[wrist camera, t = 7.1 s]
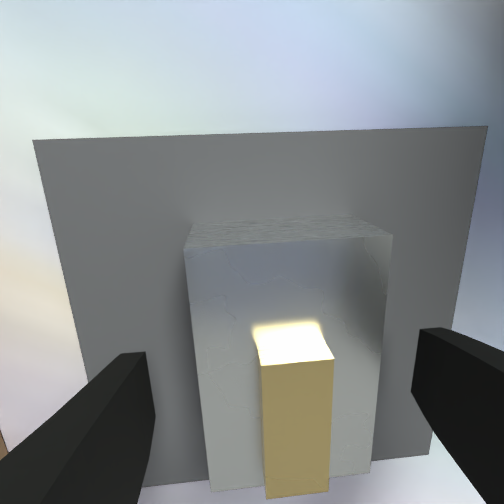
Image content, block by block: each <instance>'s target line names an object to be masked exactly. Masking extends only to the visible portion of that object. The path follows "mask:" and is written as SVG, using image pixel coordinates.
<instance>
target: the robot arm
mask: <svg viewBox="0 0 504 504" xmlns="http://www.w3.org/2000/svg"><path fill="white" fill-rule="evenodd" d="M411 393H412V395H413V397H414V399H415V401H416V403H417V404H418V406H419V408H420V410H421V412H422V413H423V415H424V417H425V418H426V420H427V422H428V424H429V425H430V427H431V429H432V430H433V431H434V433H435V434H436V436H437V437H438V439H439V440H440V441H441V443H442V444H443V445H444V447H445V448H446V450H447V451H448V452H449V454H450V455H451V456H452V458H453V459H454V460H455V462H456V463H457V465H458V466H459V467H460V469H461V470H462V471H463V473H464V474H465V475H466V477H467V478H468V479H469V481H470V482H471V483H472V485H473V486H474V487H475V489H476V490H477V491H478V493H479V494H480V496H481V497H482V498H483V500H484V501H485V502H486V504H504V352H503V351H501V350H499V349H496V348H494V347H492V346H489V345H487V344H485V343H482V342H480V341H477V340H475V339H472V338H470V337H468V336H465V335H462V334H460V333H457V332H454V331H452V330H449V329H446V328H442V327H437V328H425V329H420V330H419V337H418V344H417V351H416V358H415V364H414V371H413V378H412V385H411ZM155 419H156V414H155V408H154V402H153V395H152V389H151V383H150V377H149V370H148V364H147V358H146V351H145V352H132V353H121V354H119V355H118V356H117V357H116V358H115V359H114V360H113V361H111V362H110V363H109V364H108V365H107V366H106V367H105V368H104V369H103V370H102V371H101V372H100V373H99V374H97V375H96V376H95V377H94V378H93V379H92V380H91V381H90V382H89V383H88V384H87V385H86V386H85V387H84V388H82V389H81V390H80V391H79V392H78V393H77V394H76V395H75V396H74V397H73V398H72V399H70V400H69V401H68V402H67V403H66V404H65V405H64V406H63V407H62V408H61V409H59V410H58V411H57V412H56V413H55V414H54V415H53V416H52V417H51V418H49V419H48V420H47V421H46V422H45V423H44V424H42V425H41V426H40V427H39V428H38V429H36V430H35V431H34V432H33V433H32V434H31V435H29V436H28V437H27V438H26V439H25V440H23V441H22V442H21V443H20V444H19V445H18V446H16V447H15V448H14V449H13V450H12V451H10V452H9V453H8V454H7V455H6V456H5V457H3V458H2V459H1V460H0V504H137V502H138V498H139V495H140V491H141V487H142V484H143V480H144V476H145V473H146V469H147V465H148V461H149V456H150V450H151V445H152V439H153V432H154V425H155Z"/></svg>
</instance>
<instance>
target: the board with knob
mask: <svg viewBox="0 0 504 504" xmlns="http://www.w3.org/2000/svg"><path fill="white" fill-rule="evenodd" d="M7 454H8V452H7V449H6V447H5V444H4V441H3V438H2V435H1V432H0V460H1V459H2V458H3V457H5V456H6V455H7Z"/></svg>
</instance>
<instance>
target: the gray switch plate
mask: <svg viewBox="0 0 504 504" xmlns="http://www.w3.org/2000/svg"><path fill="white" fill-rule="evenodd" d="M487 128H488V126H470V127H438V128H405V129H373V130H340V131H308V132H275V133H243V134H210V135H178V136H145V137H113V138H80V139H48V140H32V141H33V145H34V149H35V154H36V158H37V162H38V167H39V171H40V175H41V180H42V184H43V188H44V193H45V197H46V201H47V206H48V210H49V214H50V219H51V223H52V227H53V232H54V236H55V240H56V244H57V249H58V253H59V257H60V262H61V266H62V270H63V275H64V279H65V283H66V288H67V292H68V296H69V301H70V305H71V309H72V314H73V318H74V322H75V327H76V331H77V335H78V340H79V344H80V348H81V353H82V357H83V361H84V366H85V370H86V374H87V379H88V383H89V382H90V381H91V380H92V379H93V378H94V377H95V376H96V375H97V374H99V373H100V372H101V371H102V370H103V369H104V368H105V367H106V366H107V365H108V364H109V363H110V362H111V361H113V360H114V359H115V358H116V357H117V356H118V355H119V354H121V353H132V352H145V351H146V358H147V364H148V370H149V377H150V383H151V389H152V395H153V402H154V408H155V414H156V419H155V425H154V432H153V439H152V445H151V450H150V456H149V461H148V465H147V469H146V473H145V476H144V480H143V484H142V487H149V486H158V485H167V484H175V483H184V482H193V481H202V480H209V471H208V462H207V453H206V444H205V435H204V427H203V418H202V409H201V400H200V391H199V383H198V374H197V365H196V356H195V347H194V338H193V330H192V321H191V312H190V303H189V294H188V286H187V277H186V268H185V259H184V250H183V248H184V246H185V243H186V241H187V238H188V235H189V233H190V230H191V228H192V225H193V224H195V223H211V222H228V221H244V220H261V219H277V218H294V217H310V216H327V215H343V214H351V215H353V216H355V217H357V218H359V219H361V220H363V221H365V222H368V223H370V224H372V225H374V226H376V227H378V228H380V229H382V230H384V231H386V232H388V233H390V234H392V235H393V239H392V249H391V259H390V270H389V280H388V290H387V300H386V311H385V321H384V331H383V342H382V352H381V362H380V372H379V383H378V393H377V403H376V413H375V424H374V434H373V444H372V455H371V461H377V460H385V459H394V458H403V457H412V456H420V455H429V449H430V443H431V438H432V432H433V430H432V429H431V427H430V425H429V424H428V422H427V420H426V418H425V417H424V415H423V413H422V412H421V410H420V408H419V406H418V404H417V403H416V401H415V399H414V397H413V395H412V393H411V385H412V378H413V371H414V364H415V358H416V351H417V344H418V337H419V330H420V329H425V328H437V327H442V328H446V329H449V330H451V327H452V322H453V316H454V311H455V305H456V300H457V294H458V289H459V283H460V278H461V272H462V267H463V261H464V256H465V250H466V244H467V239H468V233H469V228H470V222H471V217H472V211H473V206H474V200H475V195H476V189H477V184H478V178H479V173H480V167H481V162H482V156H483V151H484V145H485V139H486V134H487Z"/></svg>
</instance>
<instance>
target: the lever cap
mask: <svg viewBox="0 0 504 504" xmlns="http://www.w3.org/2000/svg"><path fill="white" fill-rule="evenodd" d="M392 239H393V235H392V234H390V233H388V232H386V231H384V230H382V229H380V228H378V227H376V226H374V225H372V224H370V223H368V222H365V221H363V220H361V219H359V218H357V217H355V216H353V215H351V214H343V215H327V216H310V217H294V218H277V219H261V220H244V221H228V222H211V223H195V224H193V225H192V228H191V230H190V233H189V235H188V238H187V241H186V243H185V246H184V248H183V250H184V259H185V268H186V277H187V286H188V294H189V303H190V312H191V321H192V330H193V338H194V347H195V356H196V365H197V374H198V383H199V391H200V400H201V409H202V418H203V427H204V435H205V444H206V453H207V462H208V471H209V480H210V488H211V492H218V491H226V490H234V489H242V488H250V487H259V486H265V493H266V499H273V498H281V497H289V496H297V495H304V494H312V493H320V492H328V489H329V478H331V477H339V476H347V475H356V474H364V473H370V465H371V455H372V444H373V434H374V424H375V413H376V403H377V393H378V383H379V372H380V362H381V352H382V342H383V331H384V321H385V311H386V300H387V290H388V280H389V270H390V259H391V249H392Z"/></svg>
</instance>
